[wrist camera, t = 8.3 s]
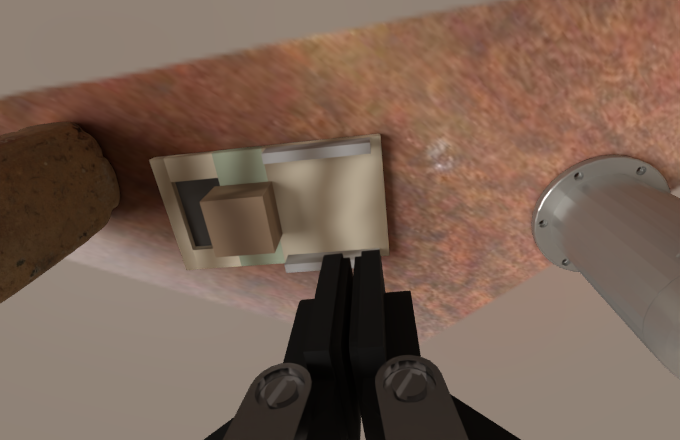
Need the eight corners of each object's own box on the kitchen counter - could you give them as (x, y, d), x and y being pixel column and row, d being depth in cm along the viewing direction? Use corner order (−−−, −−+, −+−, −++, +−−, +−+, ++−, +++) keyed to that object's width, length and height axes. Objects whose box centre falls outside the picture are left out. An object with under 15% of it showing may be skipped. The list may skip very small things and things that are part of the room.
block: (131, 216, 43) (-38, 349, 25) (66, 215, 43) (-146, 346, 25) (103, 116, 38) (-129, 191, 20) (31, 116, 39) (-259, 191, 21)
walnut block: (271, 181, 39) (262, 196, 36) (282, 233, 42) (274, 253, 38) (214, 186, 40) (199, 201, 36) (228, 238, 42) (215, 257, 39)
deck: (380, 133, 37) (381, 141, 35) (389, 250, 43) (390, 265, 40) (153, 157, 40) (138, 166, 37) (189, 265, 45) (178, 280, 43)
